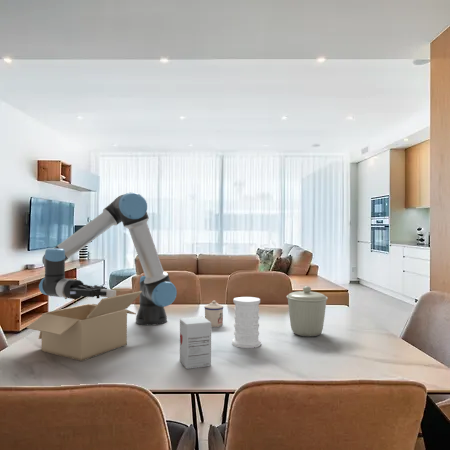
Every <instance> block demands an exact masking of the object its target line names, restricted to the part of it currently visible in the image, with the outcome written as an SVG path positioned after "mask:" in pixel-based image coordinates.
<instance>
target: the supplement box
mask: <svg viewBox="0 0 450 450" xmlns="http://www.w3.org/2000/svg"><path fill="white" fill-rule="evenodd" d="M179 362H180V363H181V364H182V366H183V367H184V368H185V369H186V370H189V369H195V368H197V367H198V368H203V367H204V366H205V367H211V366H212V327H211V322H210V321H208V320H207V319H205V316H196V317H182V318H180V319H179ZM205 367H204V368H205Z"/></svg>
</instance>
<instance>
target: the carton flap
mask: <svg viewBox="0 0 450 450" xmlns="http://www.w3.org/2000/svg"><path fill="white" fill-rule="evenodd" d="M141 292H142V291H140V290H139V291H135V292H128V293H125V294H119V295H116V296H113V297H109V298H108V297H103V298H101V299H100V300H99V302H98V303H97V305H96V307H95V308H94V309H93V310H92V311H91V313H90V314H89V315H88V316H87V318H91V317H95V316H99V315H103V314H107V313H111V312H115V311H119V310H123V309H127V310H128V308H129V307H131V305H132V304H133V303H134V301H136V300H137V298H138V297H140V294H141Z"/></svg>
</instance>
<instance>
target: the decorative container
mask: <svg viewBox="0 0 450 450" xmlns="http://www.w3.org/2000/svg"><path fill="white" fill-rule="evenodd" d="M232 302H233V304H234V309H233V310H234V316H233V318H234V324H233V326H234V331H233V335H234V338H232V340H231V341H232V344H231V345H232V346H234V347H236V348H240V349H241V348H242V349H254V347H255V348H259V347H260V346H261V345H262V341H261V339H260V338H259V336H260V331H259V328H260V323H259V320H260V315H259V312H260V307H259V305H260V304H261V298H259V297H254V296H240V297H239V296H238V297H234V298H233V301H232Z"/></svg>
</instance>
